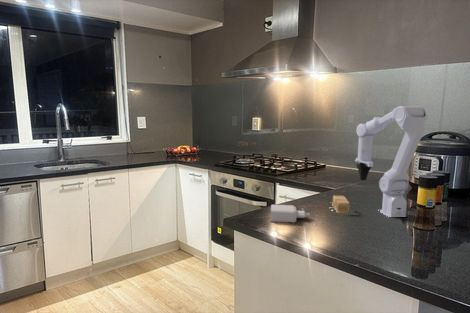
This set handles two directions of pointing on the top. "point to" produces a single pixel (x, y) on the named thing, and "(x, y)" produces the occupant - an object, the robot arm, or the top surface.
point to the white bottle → (286, 213)
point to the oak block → (340, 204)
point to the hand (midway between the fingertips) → (363, 179)
